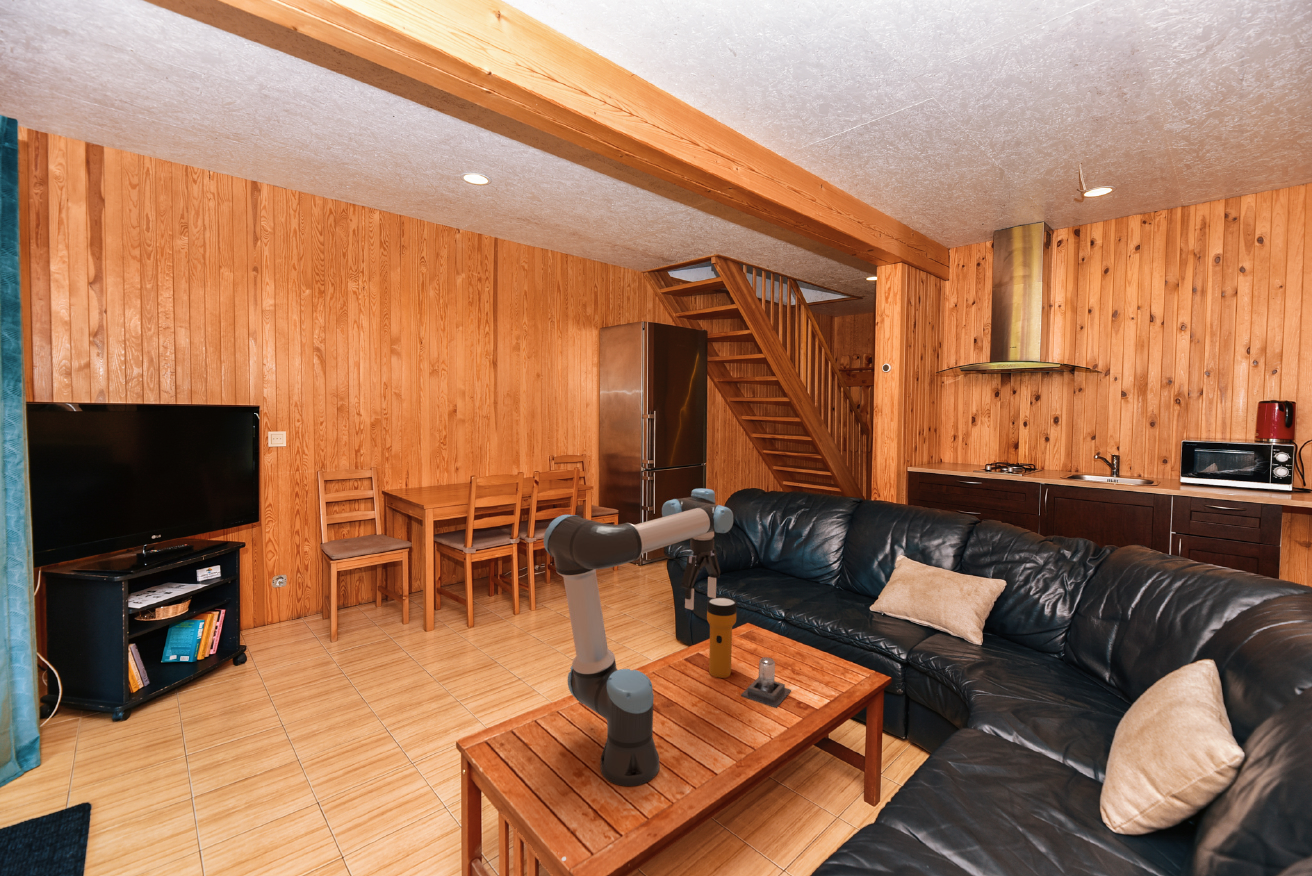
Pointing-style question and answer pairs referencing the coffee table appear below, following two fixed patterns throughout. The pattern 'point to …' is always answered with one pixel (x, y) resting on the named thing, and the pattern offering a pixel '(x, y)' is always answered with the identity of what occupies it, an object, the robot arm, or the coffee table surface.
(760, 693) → the collar
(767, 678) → the piston
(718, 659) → the flashlight
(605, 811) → the coffee table surface
